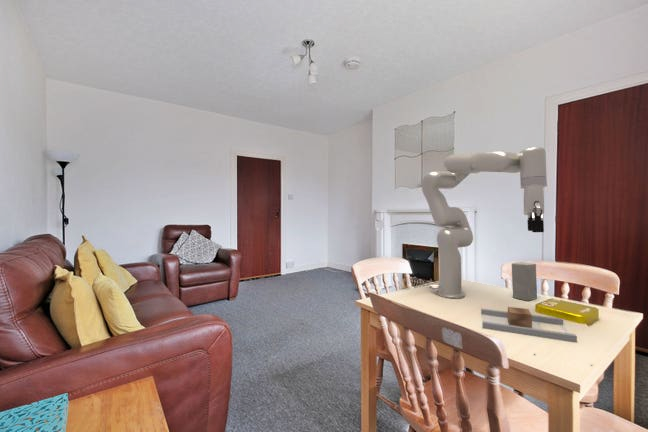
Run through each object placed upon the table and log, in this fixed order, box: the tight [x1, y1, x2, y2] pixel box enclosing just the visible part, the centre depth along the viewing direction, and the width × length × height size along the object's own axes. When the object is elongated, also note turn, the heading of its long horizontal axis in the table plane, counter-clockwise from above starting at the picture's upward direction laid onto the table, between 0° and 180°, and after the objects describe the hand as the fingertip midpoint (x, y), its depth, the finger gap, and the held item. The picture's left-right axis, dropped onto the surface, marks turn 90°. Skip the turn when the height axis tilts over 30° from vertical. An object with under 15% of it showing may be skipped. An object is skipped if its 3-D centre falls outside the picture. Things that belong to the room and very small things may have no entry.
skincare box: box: [511, 261, 538, 302], centre depth 127 cm, size 8×7×16 cm
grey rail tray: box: [480, 307, 578, 343], centre depth 95 cm, size 24×15×3 cm, turn 63°
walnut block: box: [507, 306, 533, 328], centre depth 95 cm, size 6×6×5 cm
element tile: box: [534, 297, 600, 327], centre depth 105 cm, size 15×15×5 cm
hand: (535, 231), depth 100 cm, fingers open, 9 cm apart
